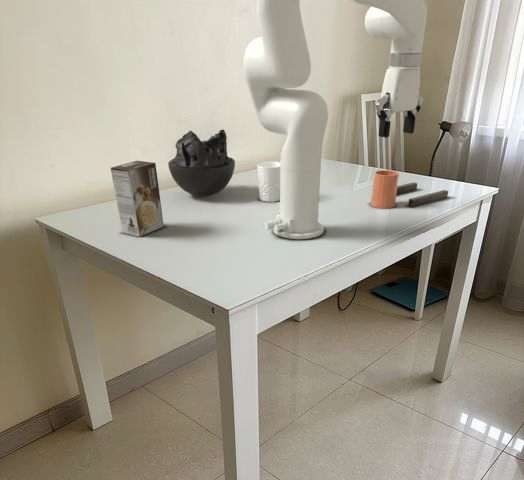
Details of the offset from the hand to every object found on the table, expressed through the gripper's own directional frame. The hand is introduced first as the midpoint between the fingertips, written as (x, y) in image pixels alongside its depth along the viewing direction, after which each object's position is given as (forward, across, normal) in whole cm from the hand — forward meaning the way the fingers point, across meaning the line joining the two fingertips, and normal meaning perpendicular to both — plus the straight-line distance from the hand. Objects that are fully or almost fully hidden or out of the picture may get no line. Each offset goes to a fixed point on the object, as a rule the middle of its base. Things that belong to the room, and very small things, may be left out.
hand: (396, 134), depth 134 cm
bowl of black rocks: (+19, +38, -41) cm, 59 cm away
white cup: (+19, +24, -25) cm, 39 cm away
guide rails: (+19, -11, 0) cm, 22 cm away
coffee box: (+18, +67, -22) cm, 73 cm away
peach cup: (+19, +2, 0) cm, 19 cm away
